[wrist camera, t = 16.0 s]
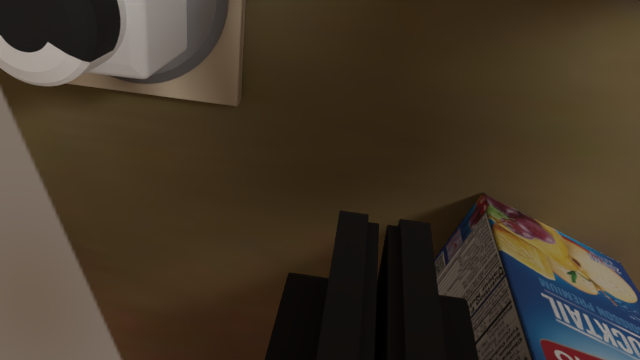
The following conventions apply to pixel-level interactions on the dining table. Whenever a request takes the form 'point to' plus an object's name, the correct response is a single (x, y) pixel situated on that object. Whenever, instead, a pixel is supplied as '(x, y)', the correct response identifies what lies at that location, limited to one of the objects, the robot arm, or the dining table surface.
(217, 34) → the board
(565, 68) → the dining table surface
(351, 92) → the dining table surface
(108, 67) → the medicine bottle
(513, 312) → the juice carton
